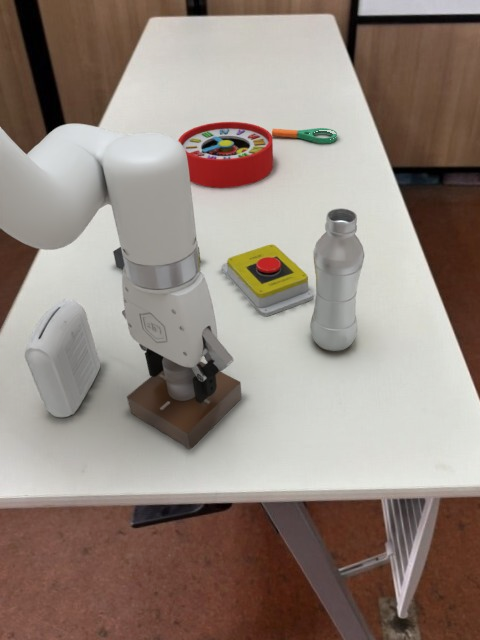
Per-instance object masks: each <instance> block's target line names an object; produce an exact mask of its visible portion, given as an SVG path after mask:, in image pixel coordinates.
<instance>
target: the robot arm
mask: <svg viewBox="0 0 480 640" xmlns="http://www.w3.org/2000/svg"><path fill="white" fill-rule="evenodd" d="M178 140H179V139H177V138H176V137H174V136H172V135H170V134H166V133H162V132H155V131H154V132H153V131H145V132H143V131H142V132H136V133H135V132H134V133H124V132H119V131H115V130H110V129H106V128H103V127H99V126H96V125H90V124H86V123H85V124H84V123H76V122H75V123H66V124H62V125H59V126H57V127H55V128H54V129H52V131H50V132H49V133H48V134H47V135H46V136H44V138H43V139H42V140H41V141H40V142H39V143H38V144H36V145H34V147H32V148H31V150H29V151H28V152H27V153H26V152H24V151H23V149H21V147H19V146H18V144H17V143H16V142H15V141H14V140H13V139H12V138H11V137H10V135H8V133H6V131H5V130H4V129H3V128H2V127H1V126H0V230H2V231H3V232H4V233H6V234H7V235H9V236H10V237H12V238H14V239H15V240H17V241H19V242H21V243H23V244H24V245H27V246H29V247H31V248H34V249H39V250H45V251H54V250H58V249H63V248H65V247H67V246H69V245H71V244H73V243H74V242H75V241H76V240H77V239H78V238H79V237H80V236H81V235H82V234H83V233H84V231H85V230H86V229H87V227H88V226H89V224H90V223H91V222H92V220H93V219H94V217H95V216H96V214H97V213H98V212H99V210H100V209H101V208H103V207H105V206H107V205H109V206H111V210H112V214H113V220H114V223H115V229H116V231H117V237H118V241H119V245H120V246H119V247H121V250H122V255H123V259H124V264H125V266H124V267H123V270H122V273H121V288H122V301H123V307H124V309H123V310H122V311H121V314H122V316H123V317H124V319H125V320H126V325H127V327H128V328H127V329H128V331H129V334H130V336H131V338H132V339H133V340H134V341H135V342H136V343H138V346H139V348H140V349H141V350H142V351H143V352H144V357H145V360H146V366H147V371H148V374H149V376H150V377H151V376H152V377H156V376H157V375H158V374H160V373H161V372H162V371H163V370H164V369H163V364H162V360H163V357H165V358H167V359H169V360H171V361H173V362H175V363H177V364H179V365H181V366H184V367H189V368H192V370H193V372H194V373H195V375H196V376H195V377H194V378H193V386H194V392H195V399H196V401H197V402H198V403H202V402H203V401H204V400H205V399H206V398H207V397H208V396H211V395H212V394H213V393H214V392H215V391H216V388H217V384H216V374H217V373H218V372H222V371H223V370H225V369H227V367H229V366H230V365H231V364H232V363H233V362H234V358H233V356H232V355H231V354H230V352H229V351H228V350H227V349H226V347H225V346H224V345H223V343H221V342H220V340H219V339H218V327H217V320H216V314H215V309H214V305H213V302H212V297H211V292H210V289H209V285H208V283H207V280H206V277H205V274H204V273H203V272H202V271H201V263H200V261H201V259H200V260H199V253H200V250H199V251H198V247H199V244H198V237H197V228H196V218H195V211H194V202H193V194H192V186H191V185H192V184H191V181H190V175H189V167H188V160H187V155H186V152H185V149H184V147H183V146H182V144H181V143H180V142H179V141H178ZM203 357H204V359H205V361H206V363H205V365H204V366H203V367H202V366H201V364H200V361H201V360H202V358H203Z"/></svg>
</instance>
